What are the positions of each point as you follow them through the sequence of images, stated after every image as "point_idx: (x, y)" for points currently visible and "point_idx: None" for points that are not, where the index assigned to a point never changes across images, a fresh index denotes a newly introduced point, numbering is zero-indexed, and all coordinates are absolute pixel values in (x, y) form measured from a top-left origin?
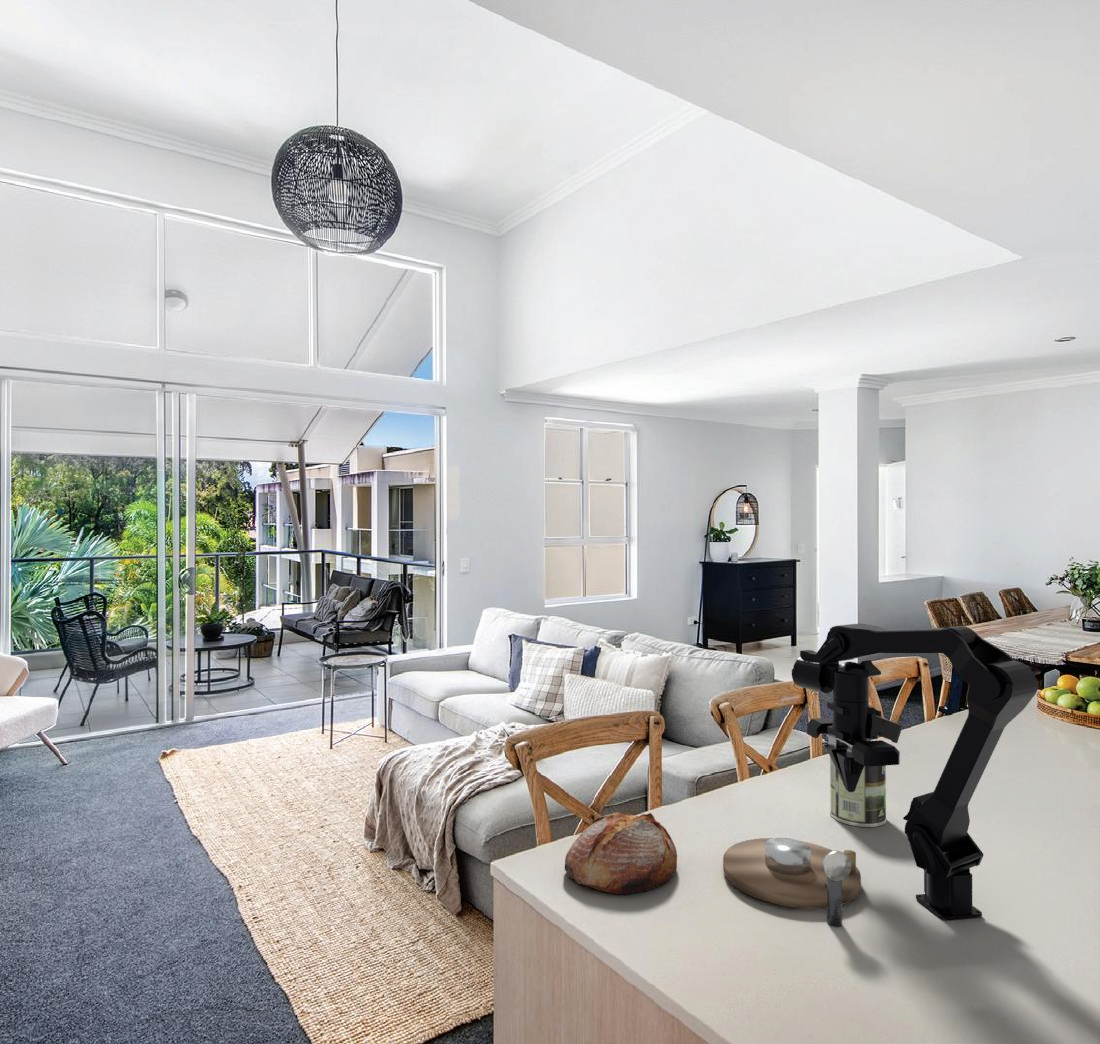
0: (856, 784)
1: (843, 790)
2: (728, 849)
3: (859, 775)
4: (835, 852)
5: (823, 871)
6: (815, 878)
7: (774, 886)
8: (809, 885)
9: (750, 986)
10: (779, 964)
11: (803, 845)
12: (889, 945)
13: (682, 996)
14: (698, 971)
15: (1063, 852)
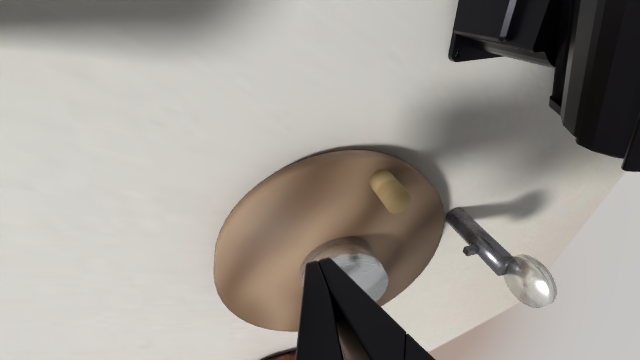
0: (354, 284)
1: None
2: (272, 328)
3: (400, 330)
4: (549, 303)
5: (508, 286)
6: (389, 236)
7: (394, 283)
8: (405, 246)
9: (496, 288)
10: (485, 270)
11: (348, 272)
12: (517, 168)
13: (483, 319)
14: (465, 315)
15: None
